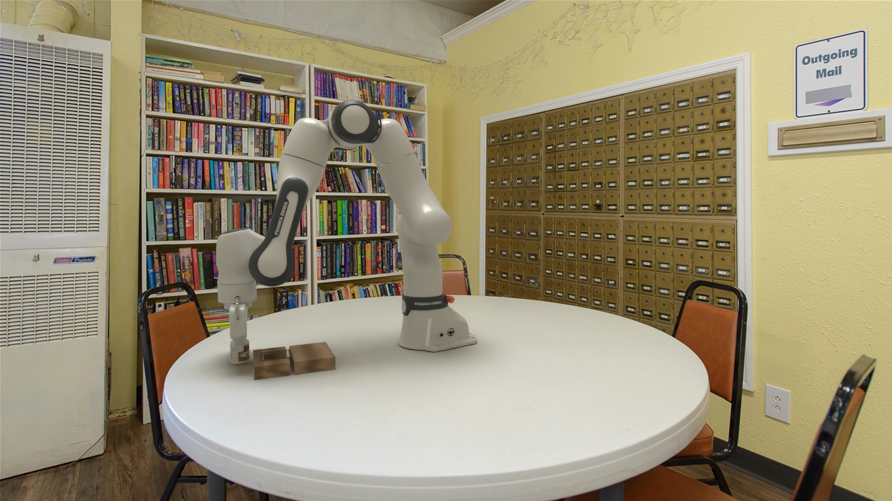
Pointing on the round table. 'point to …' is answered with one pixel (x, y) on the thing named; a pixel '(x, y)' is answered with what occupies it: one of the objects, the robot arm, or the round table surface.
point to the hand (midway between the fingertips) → (240, 347)
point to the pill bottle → (240, 353)
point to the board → (292, 360)
